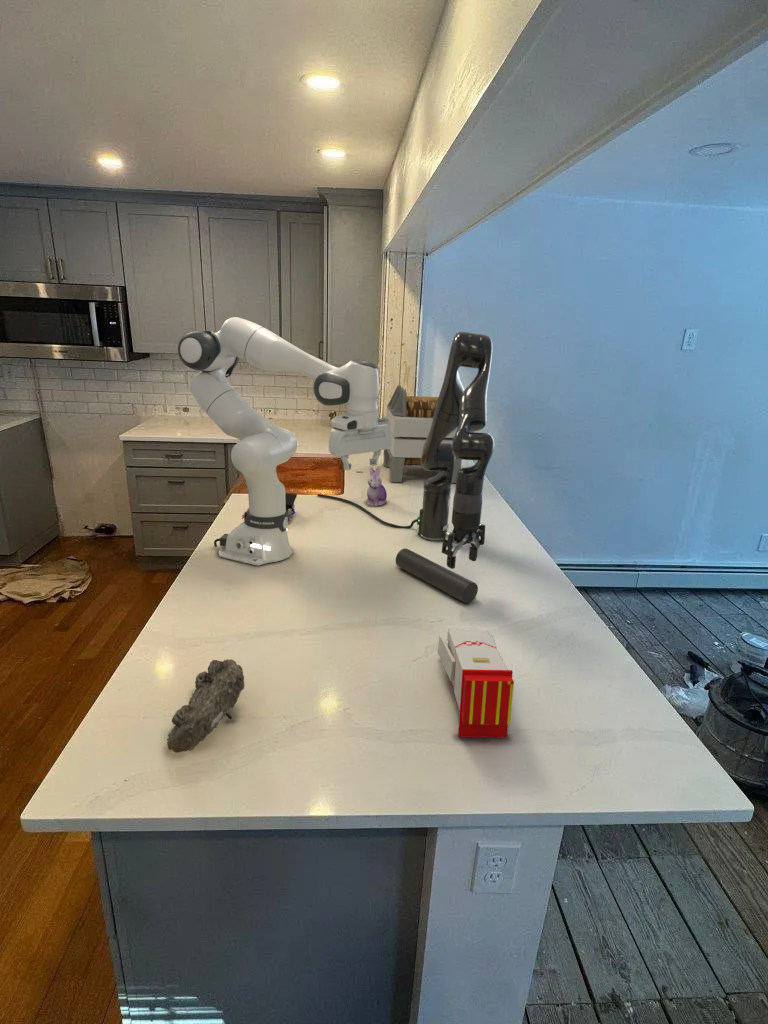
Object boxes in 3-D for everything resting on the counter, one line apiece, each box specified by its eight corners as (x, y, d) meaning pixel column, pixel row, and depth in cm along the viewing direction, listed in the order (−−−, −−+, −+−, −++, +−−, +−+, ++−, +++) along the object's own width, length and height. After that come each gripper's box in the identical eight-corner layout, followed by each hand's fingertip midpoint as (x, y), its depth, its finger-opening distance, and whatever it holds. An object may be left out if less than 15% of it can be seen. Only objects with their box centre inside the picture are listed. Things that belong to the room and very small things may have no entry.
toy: (488, 613, 130) (523, 677, 101) (484, 667, 133) (517, 744, 104) (435, 612, 130) (455, 676, 101) (432, 666, 133) (451, 743, 103)
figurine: (371, 508, 224) (372, 471, 219) (360, 500, 232) (361, 464, 227) (392, 505, 228) (394, 469, 223) (380, 497, 236) (382, 462, 231)
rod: (476, 599, 157) (479, 580, 155) (461, 606, 153) (463, 586, 151) (409, 564, 176) (410, 546, 174) (394, 569, 173) (395, 550, 171)
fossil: (192, 660, 117) (244, 628, 112) (224, 691, 120) (276, 661, 115) (142, 746, 98) (202, 712, 93) (182, 779, 101) (242, 748, 96)
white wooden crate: (382, 463, 289) (386, 382, 275) (445, 464, 293) (451, 384, 279) (390, 482, 257) (394, 392, 243) (460, 483, 261) (468, 394, 247)
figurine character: (292, 528, 204) (297, 509, 217) (292, 509, 201) (297, 491, 214) (274, 527, 204) (280, 509, 217) (273, 508, 200) (279, 491, 214)
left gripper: (383, 415, 168) (381, 460, 173) (325, 420, 155) (325, 469, 160) (397, 418, 163) (394, 465, 168) (339, 425, 151) (338, 474, 156)
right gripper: (474, 499, 156) (469, 553, 161) (437, 508, 147) (433, 565, 153) (495, 506, 151) (489, 562, 156) (458, 516, 142) (453, 575, 147)
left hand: (360, 467), depth 164 cm, fingers open, 8 cm apart
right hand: (461, 564), depth 154 cm, fingers open, 8 cm apart
